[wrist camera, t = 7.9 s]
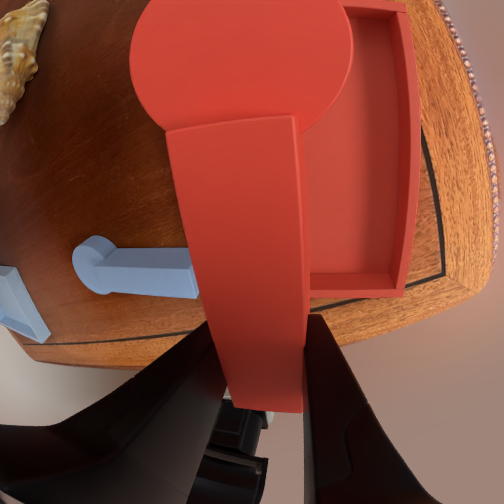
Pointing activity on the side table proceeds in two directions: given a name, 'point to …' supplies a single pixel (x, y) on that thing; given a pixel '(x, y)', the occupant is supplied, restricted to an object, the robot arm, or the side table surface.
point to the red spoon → (245, 166)
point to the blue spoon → (135, 269)
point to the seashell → (19, 52)
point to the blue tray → (19, 307)
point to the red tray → (367, 163)
